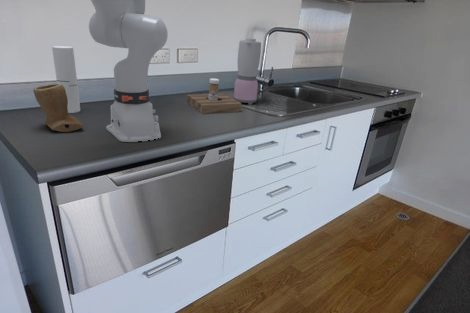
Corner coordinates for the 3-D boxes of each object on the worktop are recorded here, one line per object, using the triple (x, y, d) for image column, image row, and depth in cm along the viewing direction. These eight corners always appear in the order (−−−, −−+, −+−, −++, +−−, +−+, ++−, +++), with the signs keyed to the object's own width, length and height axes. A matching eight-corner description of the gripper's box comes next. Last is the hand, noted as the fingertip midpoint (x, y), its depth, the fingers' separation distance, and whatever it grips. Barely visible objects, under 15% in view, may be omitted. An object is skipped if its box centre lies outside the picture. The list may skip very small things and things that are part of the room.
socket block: (241, 111, 151) (241, 103, 149) (201, 113, 142) (202, 105, 140) (223, 101, 167) (223, 93, 165) (187, 102, 158) (187, 94, 156)
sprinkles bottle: (208, 107, 152) (210, 79, 147) (207, 105, 156) (208, 77, 151) (218, 108, 153) (220, 80, 148) (216, 105, 157) (218, 78, 152)
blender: (255, 106, 163) (262, 40, 150) (232, 103, 163) (237, 37, 151) (256, 99, 177) (263, 38, 165) (235, 97, 178) (240, 36, 165)
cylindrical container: (61, 108, 132) (52, 45, 122) (80, 108, 135) (73, 46, 125) (60, 113, 126) (51, 47, 116) (80, 112, 129) (73, 48, 119)
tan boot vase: (37, 123, 114) (29, 81, 108) (72, 119, 121) (67, 79, 115) (45, 136, 103) (37, 90, 97) (84, 131, 110) (79, 88, 104)
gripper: (121, -12, 133) (123, 24, 139) (130, -14, 117) (132, 26, 122) (136, -10, 136) (138, 25, 142) (147, -12, 120) (148, 27, 125)
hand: (135, 26), depth 132 cm, fingers open, 8 cm apart
